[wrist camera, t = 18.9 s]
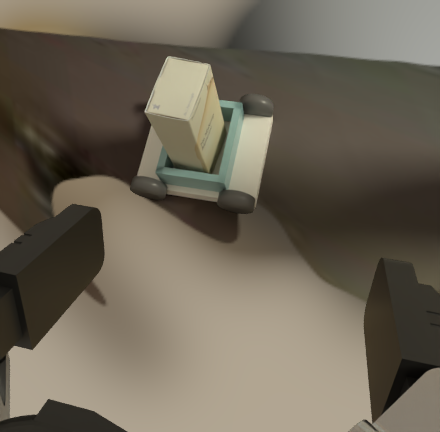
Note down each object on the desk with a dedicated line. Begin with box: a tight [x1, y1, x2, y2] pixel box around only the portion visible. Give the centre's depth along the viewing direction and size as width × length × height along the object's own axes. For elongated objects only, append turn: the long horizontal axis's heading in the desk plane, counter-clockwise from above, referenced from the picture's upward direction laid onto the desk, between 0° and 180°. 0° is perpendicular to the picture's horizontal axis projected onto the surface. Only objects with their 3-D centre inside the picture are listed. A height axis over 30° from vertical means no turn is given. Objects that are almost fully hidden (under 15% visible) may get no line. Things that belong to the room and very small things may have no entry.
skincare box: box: [145, 56, 227, 174], centre depth 42 cm, size 6×4×12 cm
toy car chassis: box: [130, 94, 274, 214], centre depth 47 cm, size 14×13×4 cm
